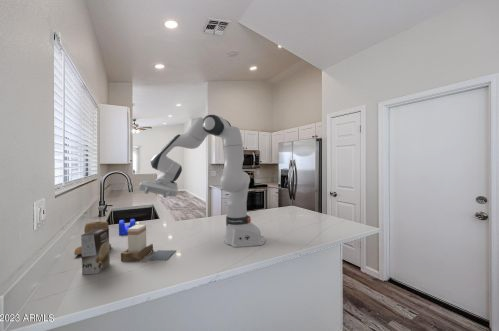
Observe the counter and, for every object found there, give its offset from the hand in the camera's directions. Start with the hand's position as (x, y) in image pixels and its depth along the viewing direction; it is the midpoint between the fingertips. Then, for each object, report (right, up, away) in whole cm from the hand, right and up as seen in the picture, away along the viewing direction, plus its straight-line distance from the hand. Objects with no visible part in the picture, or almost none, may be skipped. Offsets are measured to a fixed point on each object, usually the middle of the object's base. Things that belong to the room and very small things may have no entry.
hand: (155, 194), depth 119 cm
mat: (+7, -28, -10) cm, 31 cm away
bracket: (-31, -29, +32) cm, 53 cm away
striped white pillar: (-5, -28, -10) cm, 30 cm away
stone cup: (-31, -29, -2) cm, 43 cm away
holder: (-5, -28, -10) cm, 30 cm away
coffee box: (-15, -29, -23) cm, 40 cm away
